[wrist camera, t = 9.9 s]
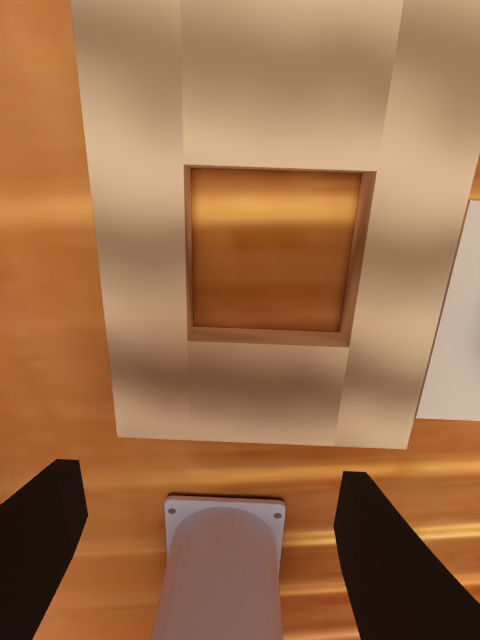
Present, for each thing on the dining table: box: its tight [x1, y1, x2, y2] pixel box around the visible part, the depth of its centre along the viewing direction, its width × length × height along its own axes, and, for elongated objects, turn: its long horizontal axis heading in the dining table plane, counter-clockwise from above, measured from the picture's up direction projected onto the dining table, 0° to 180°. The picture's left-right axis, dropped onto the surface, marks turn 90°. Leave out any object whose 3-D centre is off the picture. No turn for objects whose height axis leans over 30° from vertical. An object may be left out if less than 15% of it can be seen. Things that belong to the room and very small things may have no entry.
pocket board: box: [70, 0, 480, 449], centre depth 17 cm, size 20×16×2 cm
